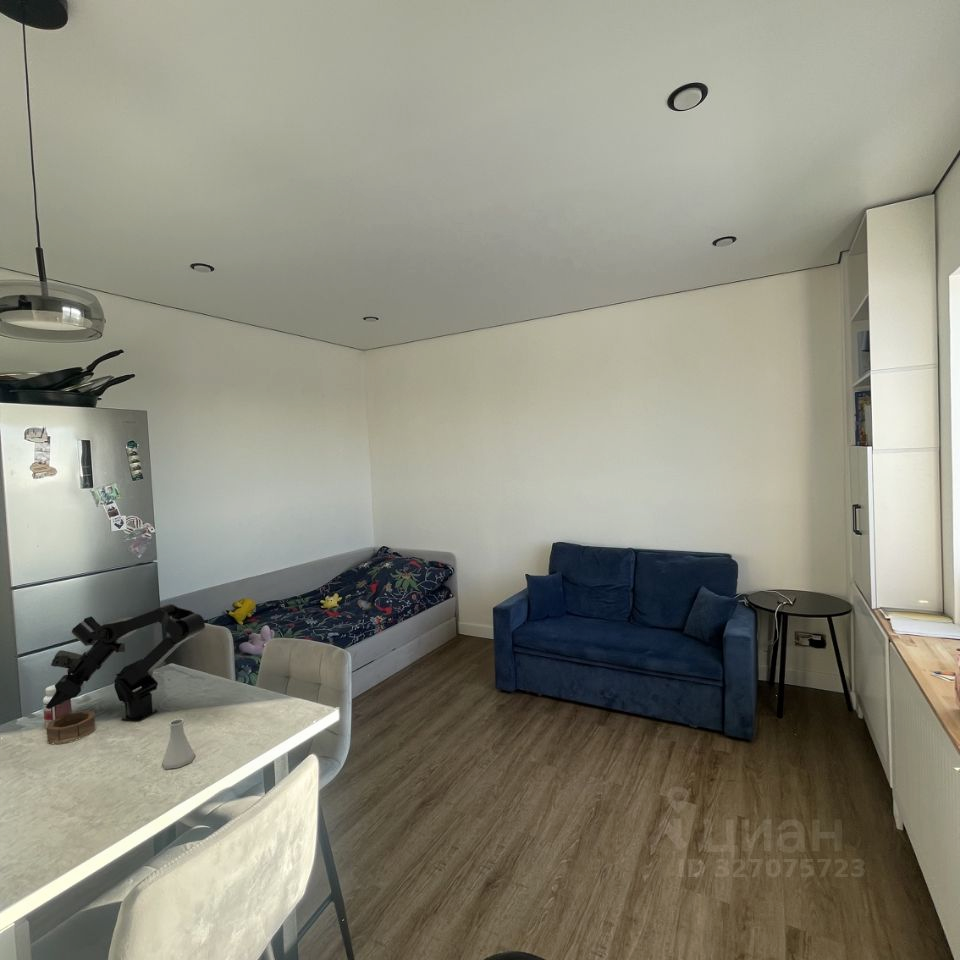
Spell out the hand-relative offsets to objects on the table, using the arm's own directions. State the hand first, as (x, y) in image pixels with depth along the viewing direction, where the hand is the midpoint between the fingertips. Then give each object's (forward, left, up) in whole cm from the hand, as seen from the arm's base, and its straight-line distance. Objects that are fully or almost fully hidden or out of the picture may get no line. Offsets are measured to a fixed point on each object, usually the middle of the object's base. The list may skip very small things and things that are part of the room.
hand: (52, 701), depth 147 cm
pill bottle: (-1, -1, -7) cm, 7 cm away
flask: (-52, +9, -7) cm, 53 cm away
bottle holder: (-11, +3, -7) cm, 13 cm away
